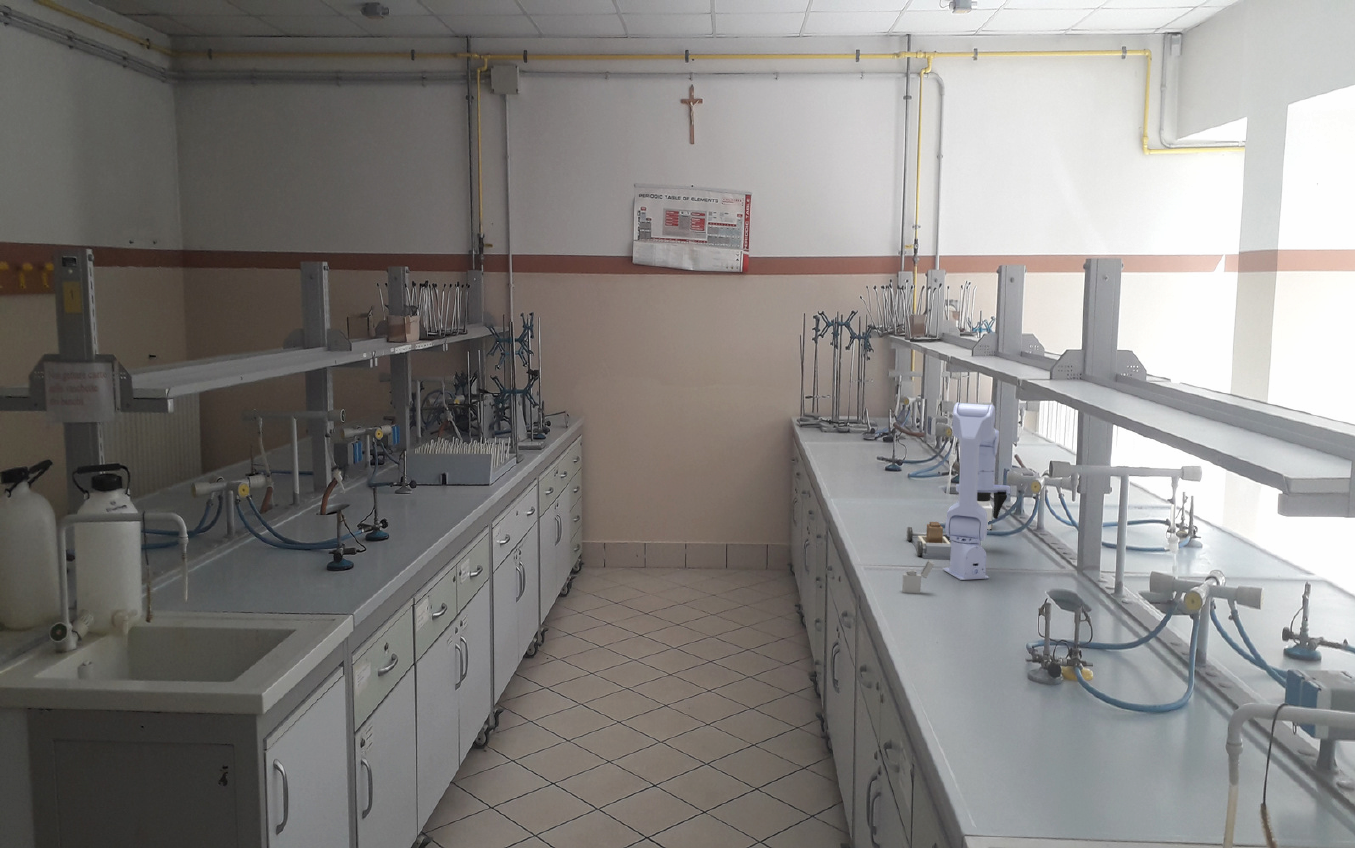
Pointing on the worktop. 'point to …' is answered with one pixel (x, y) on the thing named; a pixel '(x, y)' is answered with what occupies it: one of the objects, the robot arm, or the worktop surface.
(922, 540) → the chassis
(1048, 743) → the worktop surface
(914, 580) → the lighter
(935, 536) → the brown wooden block
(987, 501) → the medicine bottle
